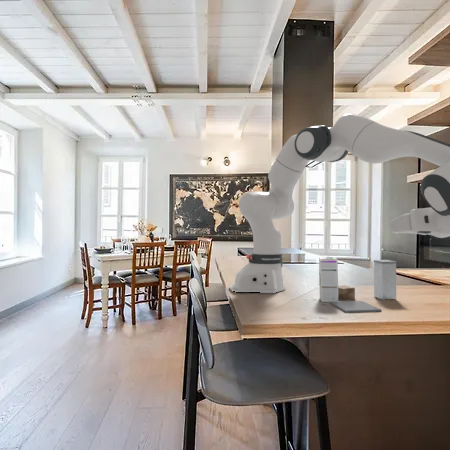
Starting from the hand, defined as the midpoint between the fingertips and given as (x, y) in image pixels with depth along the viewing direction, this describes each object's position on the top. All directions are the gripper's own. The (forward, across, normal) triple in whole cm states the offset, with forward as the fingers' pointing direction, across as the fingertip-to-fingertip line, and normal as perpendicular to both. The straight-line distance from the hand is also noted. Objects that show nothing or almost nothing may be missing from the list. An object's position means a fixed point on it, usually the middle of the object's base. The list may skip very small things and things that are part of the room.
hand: (408, 231), depth 103 cm
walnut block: (+18, +14, +21) cm, 31 cm away
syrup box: (+15, +21, +22) cm, 34 cm away
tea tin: (+15, 0, +20) cm, 26 cm away
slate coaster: (+5, +17, +24) cm, 30 cm away
